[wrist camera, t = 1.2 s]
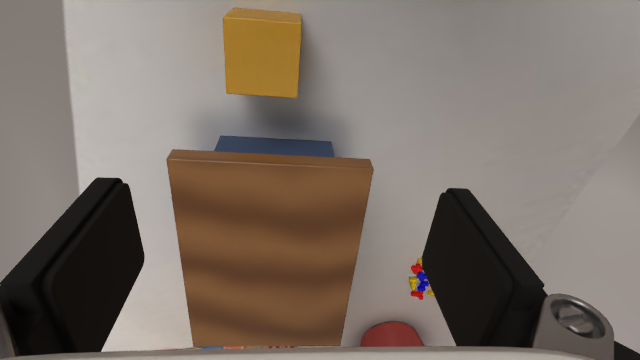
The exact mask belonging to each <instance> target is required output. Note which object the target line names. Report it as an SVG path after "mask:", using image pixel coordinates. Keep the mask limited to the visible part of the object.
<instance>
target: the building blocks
mask: <svg viewBox="0 0 640 360" xmlns="http://www.w3.org/2000/svg"><path fill="white" fill-rule="evenodd" d="M418 263H419V264H417V263H416V266H412V267H411V270H412V271H413V272H414V274H417V277H418V278H419V280H420V281H421V283H420V285H419V286H418V287H417V289H418V292H414V291H412V292H411V295H412V296H415V297H419V299H420V300H422V299H423V291H425V289H426V288H425V286H428V285H429V283H428V281H424V279H427V277H426V274H423V272H422V270H423V268H422V267H421V266H420V264H422V259H418ZM416 281H417V278H416V277H409V282H411V283H410V286H411V289H412V290H415V289H416V286H415V284H416ZM428 296H435V295H434V293H433V291H428Z"/></svg>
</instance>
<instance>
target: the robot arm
mask: <svg viewBox="0 0 640 360" xmlns="http://www.w3.org/2000/svg"><path fill="white" fill-rule="evenodd" d="M143 264H144V251H143V246H142V242H141V237H140V233H139V228H138V224H137V219H136V215H135V210H134V206H133V201H132V197H131V192H130V188H129V185H128V184H127V183H123V182H122V180H121V179H120V178H96V179H95V180H94V181H93V182H92V183H91V184H90V185H89V186H88V187H87V188H86V190H85V191H84V192H83V193H82V194H81V195H80V196H79V197H78V198H77V199H76V200H75V202H74V203H73V204H72V205H71V206H70V207H69V208H68V209H67V210H66V211H65V213H64V214H63V215H62V216H61V217H60V218H59V219H58V220H57V221H56V222H55V223H54V225H53V226H52V227H51V228H50V229H49V230H48V231H47V232H46V233H45V234H44V235H43V237H42V238H41V239H40V240H39V241H38V242H37V243H36V244H35V245H34V246H33V248H32V249H31V250H30V251H29V252H28V253H27V254H26V255H25V256H24V257H23V258H22V260H21V261H20V262H19V263H18V264H17V265H16V266H15V267H14V268H13V270H11V272H10V273H9V274H8V275H7V276H6V277H5V278H4V279H3V280H2V281H1V283H0V285H1V286H0V360H640V354H639V353H637V352H635V351H633V350H631V349H629V348H627V347H626V346H623V345H622V344H620V343H618V342H616V341H614V333H613V328H612V326H611V325H610V323H609V321H608V320H607V319H606V318H605V317H604V316H603V315H602V314H601V313H600V312H599V311H598V310H597V309H595V308H594V307H593V306H591V305H590V304H588V303H586V302H584V301H582V300H581V299H578V298H576V297H573V296H570V295H565V294H551V295H549V296H548V295H547V294H546V292H545V291H544V290H543V287H544V284H543V282H542V281H541V280H540V279H539V277H538V276H537V275H536V274H535V272H534V271H533V270H532V269H531V267H530V266H529V265H528V263H527V262H526V261H525V260H524V258H523V257H522V256H521V255H520V253H519V252H518V251H517V250H516V248H515V247H514V246H513V245H512V243H511V242H510V241H509V240H508V238H507V237H506V236H505V234H504V233H503V232H502V231H501V229H500V228H499V227H498V226H497V224H496V223H495V222H494V221H493V219H492V218H491V217H490V216H489V214H488V213H487V212H486V211H485V209H484V208H483V207H482V205H481V204H480V203H479V202H478V200H477V199H476V198H475V197H474V195H473V194H472V193H471V192H470V191H469V190H468V189H460V188H449V189H447V191H446V192H445V193H442V194H441V195H440V198H439V201H438V204H437V208H436V211H435V215H434V218H433V222H432V225H431V228H430V232H429V235H428V239H427V242H426V246H425V249H424V252H423V256H422V267H423V270H424V272H425V274H426V277H427V279H428V281H429V284H430V286H431V288H432V291H433V293H434V295H435V297H436V300H437V302H438V304H439V307H440V309H441V311H442V313H443V316H444V318H445V320H446V323H447V325H448V327H449V330H450V332H451V334H452V336H453V339H454V341H455V343H456V346H422V347H325V348H257V349H202V350H153V351H115V352H101V350H102V348H103V346H104V344H105V342H106V340H107V338H108V336H109V334H110V332H111V330H112V328H113V326H114V324H115V322H116V320H117V318H118V316H119V314H120V311H121V309H122V307H123V305H124V303H125V301H126V299H127V297H128V295H129V293H130V291H131V289H132V287H133V285H134V283H135V281H136V279H137V277H138V275H139V273H140V271H141V269H142V267H143Z"/></svg>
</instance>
